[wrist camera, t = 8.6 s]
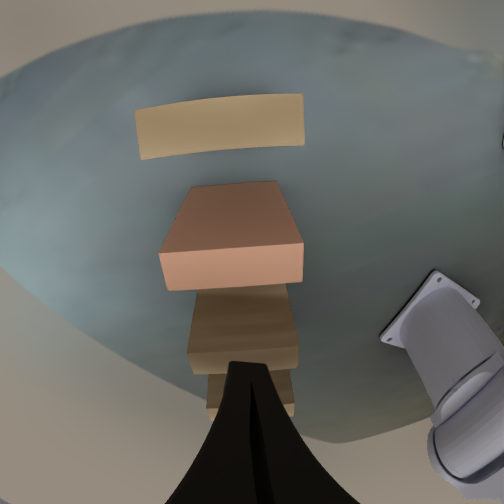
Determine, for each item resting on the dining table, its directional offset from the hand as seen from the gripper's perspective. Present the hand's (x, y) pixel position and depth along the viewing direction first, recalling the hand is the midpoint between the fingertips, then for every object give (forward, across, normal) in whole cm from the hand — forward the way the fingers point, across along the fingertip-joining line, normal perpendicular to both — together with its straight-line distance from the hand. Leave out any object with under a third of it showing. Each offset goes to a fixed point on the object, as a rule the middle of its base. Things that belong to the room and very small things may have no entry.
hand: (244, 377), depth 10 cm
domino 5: (+10, +2, -8) cm, 13 cm away
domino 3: (+10, 0, +1) cm, 10 cm away
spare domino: (+10, +1, -4) cm, 11 cm away
